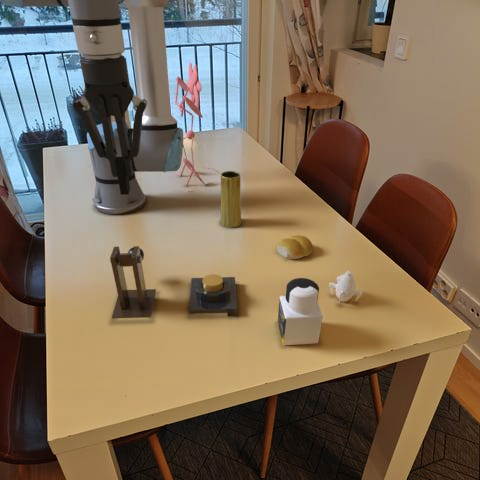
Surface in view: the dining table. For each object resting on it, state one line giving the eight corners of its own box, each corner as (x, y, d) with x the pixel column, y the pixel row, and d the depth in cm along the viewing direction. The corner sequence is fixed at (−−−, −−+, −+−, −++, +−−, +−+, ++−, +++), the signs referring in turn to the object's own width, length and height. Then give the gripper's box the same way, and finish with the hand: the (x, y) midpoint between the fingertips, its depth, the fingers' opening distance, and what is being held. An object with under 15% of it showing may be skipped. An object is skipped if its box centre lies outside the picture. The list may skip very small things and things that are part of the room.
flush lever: (129, 262, 98) (128, 246, 97) (145, 262, 98) (144, 246, 97) (116, 269, 85) (114, 251, 84) (134, 269, 85) (133, 251, 85)
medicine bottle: (277, 322, 90) (281, 274, 82) (310, 321, 90) (317, 272, 83) (282, 346, 84) (287, 296, 77) (318, 344, 85) (326, 294, 77)
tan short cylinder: (202, 281, 95) (202, 274, 94) (222, 280, 96) (222, 274, 94) (202, 292, 92) (202, 286, 91) (223, 292, 92) (223, 285, 91)
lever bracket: (120, 294, 98) (109, 239, 89) (156, 293, 98) (148, 239, 89) (112, 322, 90) (99, 265, 81) (151, 321, 90) (141, 265, 81)
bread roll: (318, 253, 112) (320, 239, 109) (290, 263, 108) (292, 249, 105) (297, 240, 117) (299, 226, 115) (271, 249, 113) (272, 235, 111)
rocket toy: (327, 294, 98) (331, 264, 93) (349, 290, 99) (355, 261, 94) (337, 308, 94) (342, 277, 89) (360, 304, 95) (366, 274, 90)
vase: (239, 228, 122) (239, 179, 113) (218, 226, 123) (216, 177, 114) (243, 219, 127) (243, 171, 118) (223, 217, 128) (222, 169, 119)
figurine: (189, 196, 139) (180, 72, 117) (172, 168, 158) (162, 58, 136) (234, 189, 143) (234, 69, 121) (213, 163, 162) (209, 55, 140)
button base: (192, 285, 100) (190, 270, 98) (234, 284, 101) (234, 269, 98) (189, 317, 91) (188, 302, 89) (236, 316, 92) (236, 301, 89)
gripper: (56, 59, 69) (88, 200, 84) (138, 59, 69) (156, 199, 84) (68, 51, 74) (96, 184, 89) (144, 51, 75) (160, 184, 90)
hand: (125, 191), depth 87 cm, fingers closed
